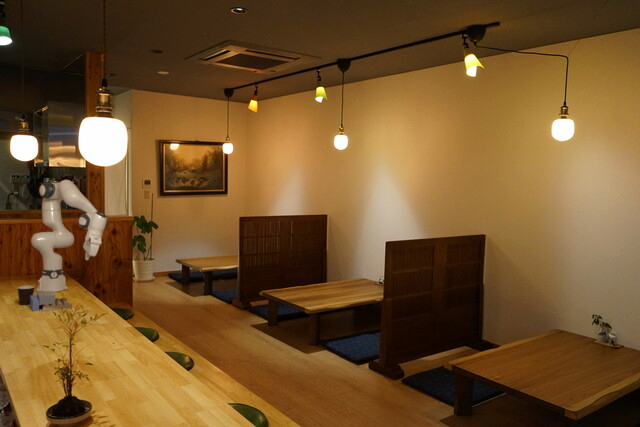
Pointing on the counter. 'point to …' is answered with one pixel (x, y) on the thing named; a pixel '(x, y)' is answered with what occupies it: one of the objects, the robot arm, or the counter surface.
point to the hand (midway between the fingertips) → (86, 259)
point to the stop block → (34, 303)
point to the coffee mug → (25, 294)
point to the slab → (46, 297)
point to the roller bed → (58, 305)
